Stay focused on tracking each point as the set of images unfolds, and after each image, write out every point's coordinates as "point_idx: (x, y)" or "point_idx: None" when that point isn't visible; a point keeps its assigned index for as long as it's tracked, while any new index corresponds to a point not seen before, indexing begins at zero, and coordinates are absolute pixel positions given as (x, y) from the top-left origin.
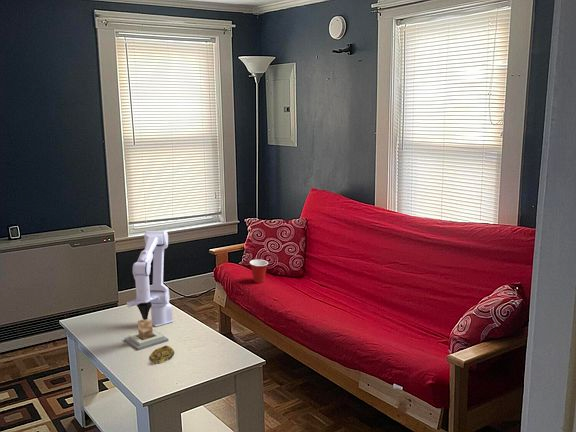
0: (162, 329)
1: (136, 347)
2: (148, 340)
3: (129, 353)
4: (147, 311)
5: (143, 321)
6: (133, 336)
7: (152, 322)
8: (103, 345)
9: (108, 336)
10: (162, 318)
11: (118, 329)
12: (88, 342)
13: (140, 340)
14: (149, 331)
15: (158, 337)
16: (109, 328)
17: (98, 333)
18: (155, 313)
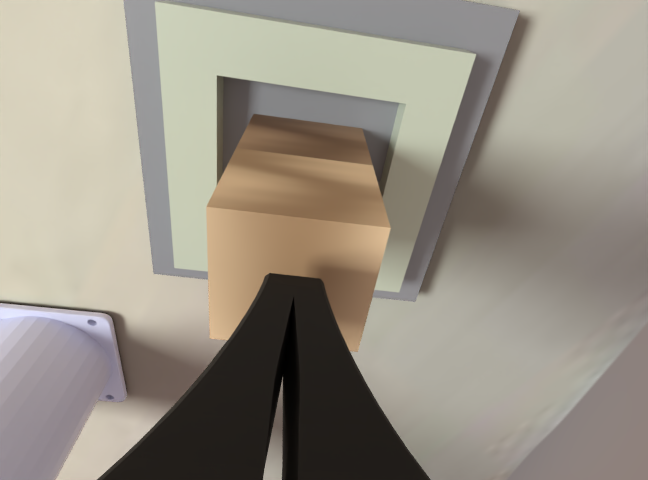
0: (78, 246)
1: (495, 65)
2: (363, 40)
3: (616, 16)
4: (242, 393)
5: None
6: (391, 248)
7: (107, 368)
8: (559, 314)
9: (432, 388)
10: (9, 351)
11: None
12: (559, 396)
13: (418, 117)
14: (282, 149)
15: (224, 19)
16: None
17: (434, 441)
18: (39, 420)
